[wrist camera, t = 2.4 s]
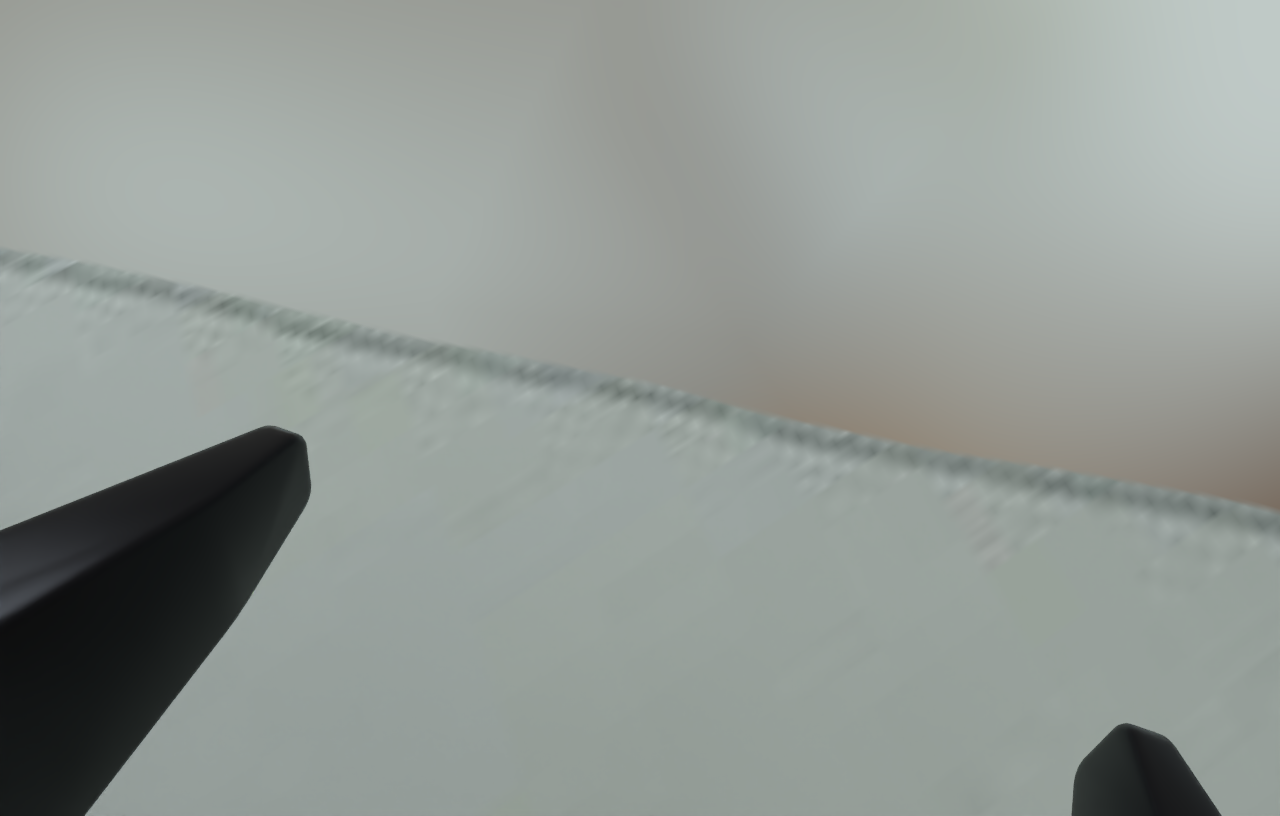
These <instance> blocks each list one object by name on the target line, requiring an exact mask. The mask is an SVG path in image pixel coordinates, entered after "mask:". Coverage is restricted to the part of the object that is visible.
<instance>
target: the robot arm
mask: <svg viewBox="0 0 1280 816" xmlns="http://www.w3.org/2000/svg"><path fill="white" fill-rule="evenodd" d="M310 492H311V480H310V471H309V463H308V454H307V446H306V442H305V440H304V439H303V437H302V436H300V435H299V434H296V433H293V432H291V431H288V430H285V429H282V428H279V427H276V426H264V427H260V428H258V429H255V430H253V431H250V432H248V433H245V434H243V435H240V436H238V437H235V438H232V439H230V440H227V441H225V442H222V443H220V444H217V445H215V446H212V447H210V448H207V449H205V450H202V451H200V452H197V453H195V454H192V455H190V456H187V457H185V458H182V459H180V460H177V461H174V462H172V463H169V464H167V465H164V466H162V467H159V468H157V469H154V470H152V471H149V472H147V473H144V474H142V475H139V476H137V477H134V478H132V479H129V480H127V481H124V482H122V483H119V484H116V485H114V486H111V487H109V488H106V489H104V490H101V491H99V492H96V493H94V494H91V495H89V496H86V497H84V498H81V499H79V500H76V501H74V502H71V503H69V504H66V505H64V506H61V507H58V508H56V509H53V510H51V511H48V512H46V513H43V514H41V515H38V516H36V517H33V518H31V519H28V520H26V521H23V522H21V523H18V524H16V525H13V526H11V527H8V528H6V529H3V530H0V816H85V814H86V813H87V812H88V810H89V809H90V808H91V807H92V805H93V804H94V803H95V801H96V800H97V799H98V797H99V796H100V795H101V794H102V792H103V791H104V790H105V788H106V787H107V786H108V785H109V783H110V782H111V781H112V779H113V778H114V777H115V775H116V774H117V773H118V772H119V770H120V769H121V768H122V766H123V765H124V764H125V763H126V761H127V760H128V759H129V757H130V756H131V755H132V753H133V752H134V751H135V750H136V748H137V747H138V746H139V744H140V743H141V742H142V740H143V739H144V738H145V737H146V735H147V734H148V733H149V731H150V730H151V729H152V728H153V726H154V725H155V724H156V722H157V721H158V720H159V718H160V717H161V716H162V715H163V713H164V712H165V711H166V709H167V708H168V707H169V706H170V704H171V703H172V702H173V700H174V699H175V698H176V696H177V695H178V694H179V693H180V691H181V690H182V689H183V687H184V686H185V685H186V684H187V682H188V681H189V680H190V678H191V677H192V676H193V674H194V673H195V672H196V671H197V669H198V668H199V667H200V665H201V664H202V663H203V661H204V660H205V659H206V658H207V656H208V655H209V654H210V652H211V651H212V650H213V649H214V647H215V646H216V645H217V643H218V642H219V641H220V639H221V638H222V637H223V636H224V634H225V633H226V632H227V630H228V629H229V627H230V626H231V625H232V623H233V622H234V621H235V619H236V618H237V616H238V615H239V613H240V612H241V610H242V609H243V607H244V606H245V604H246V603H247V601H248V600H249V598H250V596H251V595H252V593H253V591H254V590H255V588H256V587H257V585H258V583H259V582H260V580H261V578H262V577H263V575H264V574H265V572H266V570H267V569H268V567H269V565H270V564H271V562H272V560H273V559H274V557H275V556H276V554H277V552H278V551H279V549H280V547H281V546H282V544H283V542H284V541H285V539H286V538H287V536H288V534H289V533H290V531H291V529H292V528H293V526H294V525H295V523H296V521H297V520H298V518H299V516H300V515H301V513H302V511H303V510H304V508H305V506H306V504H307V502H308V500H309V496H310ZM1072 816H1221V814H1220V813H1219V811H1218V810H1217V808H1216V807H1215V805H1214V804H1213V802H1212V801H1211V799H1210V798H1209V796H1208V795H1207V793H1206V792H1205V790H1204V789H1203V787H1202V786H1201V784H1200V783H1199V781H1198V780H1197V778H1196V777H1195V775H1194V774H1193V772H1192V771H1191V769H1190V768H1189V766H1188V765H1187V764H1186V762H1185V761H1184V759H1183V758H1182V756H1181V755H1180V753H1179V752H1178V750H1177V749H1176V747H1175V746H1174V745H1173V743H1172V742H1171V741H1170V740H1169V739H1167V738H1166V737H1165V736H1163V735H1161V734H1158V733H1155V732H1152V731H1150V730H1147V729H1144V728H1141V727H1138V726H1135V725H1132V724H1128V723H1125V724H1121V725H1118V726H1116V727H1115V728H1114V729H1113V730H1112V731H1111V732H1110V733H1109V734H1108V735H1107V736H1106V737H1105V738H1104V739H1103V740H1102V741H1101V742H1100V743H1099V744H1098V745H1097V746H1096V747H1095V748H1094V749H1093V750H1092V751H1091V752H1090V753H1089V754H1088V755H1087V756H1086V757H1085V758H1084V759H1083V761H1082V762H1081V763H1080V765H1079V767H1078V769H1077V772H1076V775H1075V780H1074V788H1073V803H1072Z"/></svg>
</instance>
